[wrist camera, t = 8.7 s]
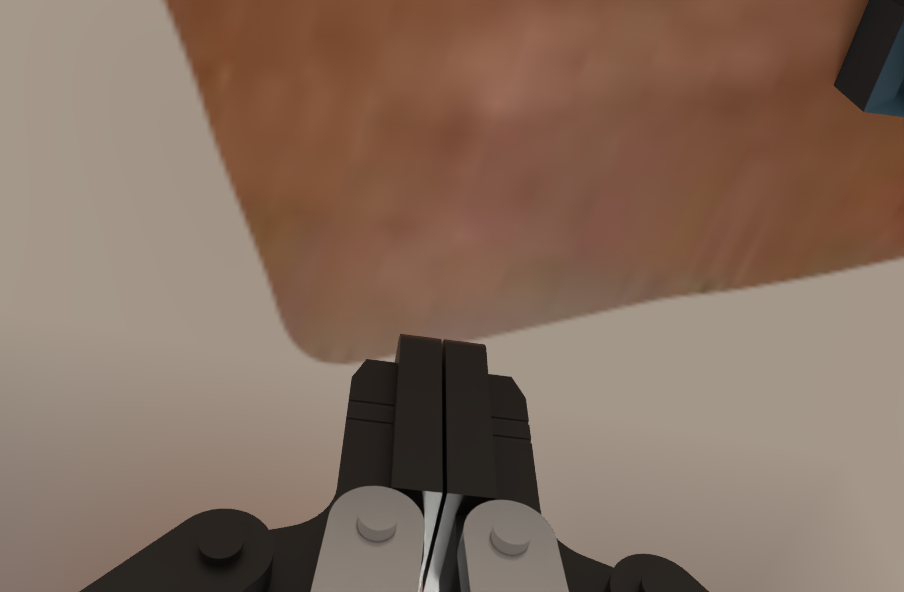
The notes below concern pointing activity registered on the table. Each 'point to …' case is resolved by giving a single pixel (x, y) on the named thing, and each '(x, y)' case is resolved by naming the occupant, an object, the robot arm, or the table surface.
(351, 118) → the table surface
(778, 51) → the table surface
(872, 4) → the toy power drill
